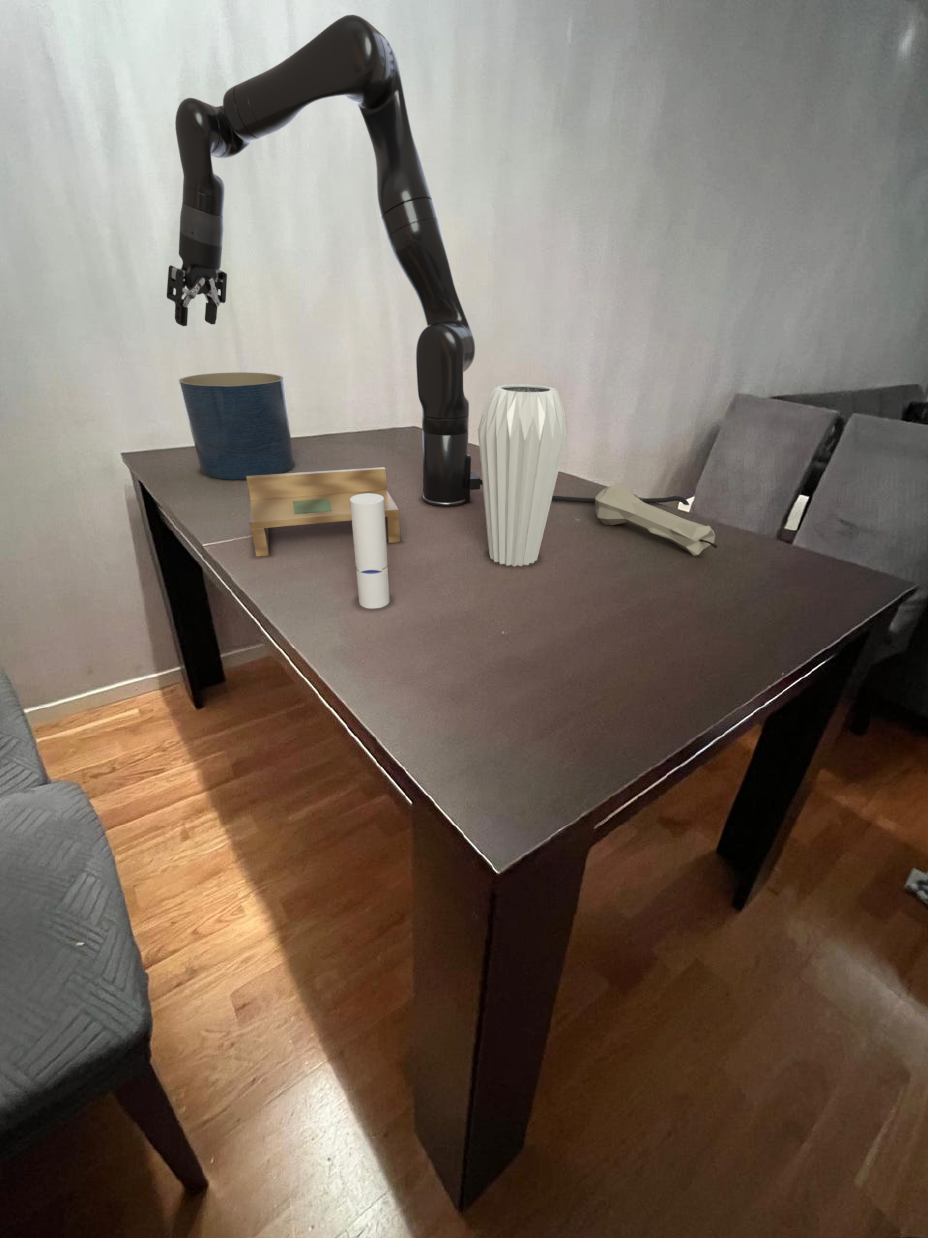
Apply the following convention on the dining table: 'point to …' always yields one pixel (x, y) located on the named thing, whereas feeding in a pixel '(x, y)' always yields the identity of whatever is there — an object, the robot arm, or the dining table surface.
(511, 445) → the vase
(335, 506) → the shelf
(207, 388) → the planter
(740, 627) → the dining table surface
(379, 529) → the tube
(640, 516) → the faceted club
